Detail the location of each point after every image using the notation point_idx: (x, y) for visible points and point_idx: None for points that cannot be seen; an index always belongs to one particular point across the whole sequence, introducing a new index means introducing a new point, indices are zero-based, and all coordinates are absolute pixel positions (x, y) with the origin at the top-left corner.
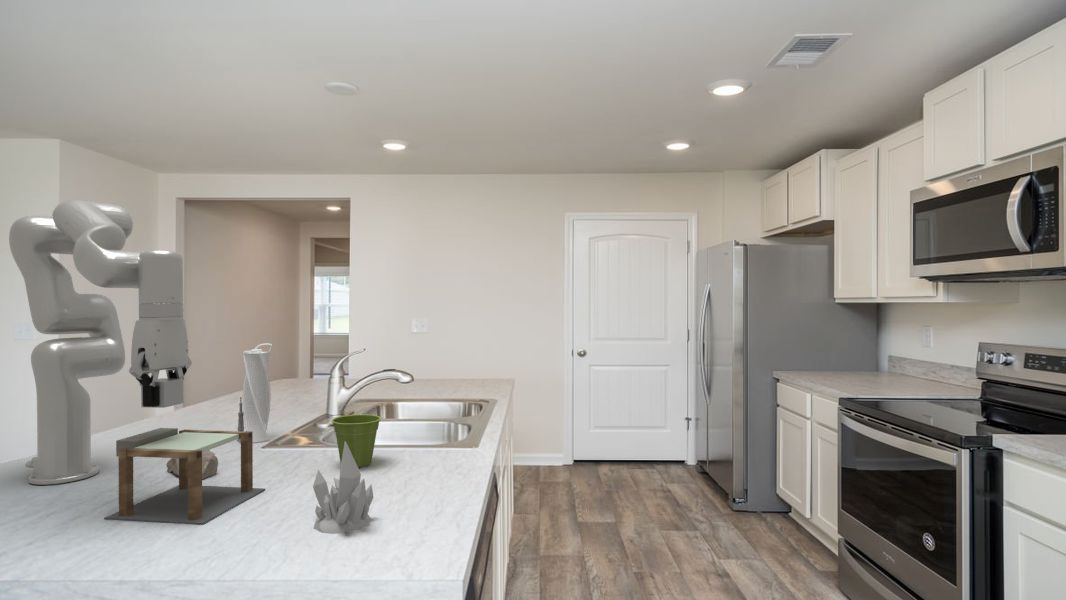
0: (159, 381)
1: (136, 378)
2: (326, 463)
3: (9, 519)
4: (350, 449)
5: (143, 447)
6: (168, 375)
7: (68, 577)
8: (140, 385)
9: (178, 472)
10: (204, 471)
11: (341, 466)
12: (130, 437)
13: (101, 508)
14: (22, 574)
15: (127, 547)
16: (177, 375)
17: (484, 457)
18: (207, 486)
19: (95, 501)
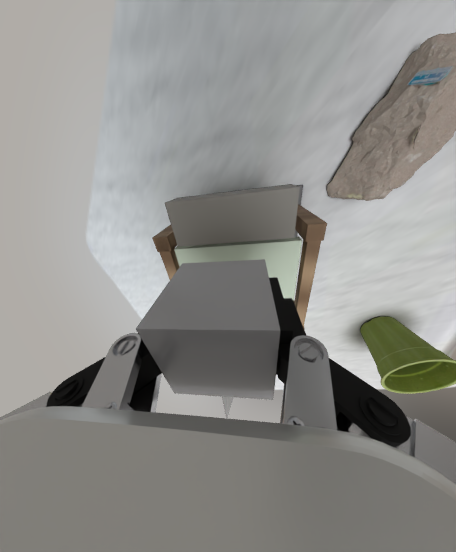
0: (177, 379)
1: (66, 382)
2: (392, 301)
3: (114, 25)
4: (369, 346)
5: (182, 261)
6: (287, 374)
7: (112, 276)
8: (121, 339)
9: (356, 136)
10: (342, 197)
11: (222, 396)
12: (195, 207)
13: (201, 154)
14: (92, 245)
15: (153, 275)
16: (283, 401)
17: (377, 388)
18: (295, 231)
19: (220, 103)
